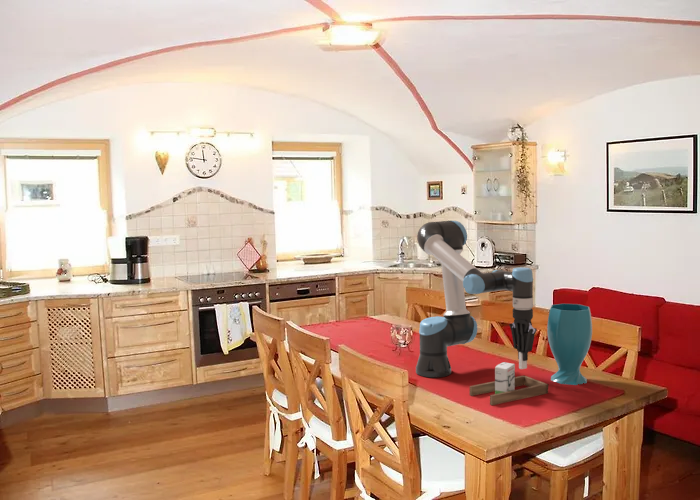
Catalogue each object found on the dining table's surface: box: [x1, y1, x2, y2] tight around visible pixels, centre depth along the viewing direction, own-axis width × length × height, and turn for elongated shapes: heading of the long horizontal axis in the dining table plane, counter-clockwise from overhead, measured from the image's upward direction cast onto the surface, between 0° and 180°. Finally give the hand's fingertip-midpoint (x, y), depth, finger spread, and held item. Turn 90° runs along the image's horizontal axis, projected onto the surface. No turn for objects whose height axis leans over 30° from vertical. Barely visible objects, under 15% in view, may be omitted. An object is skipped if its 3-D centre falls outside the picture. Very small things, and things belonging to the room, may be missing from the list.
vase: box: [546, 303, 593, 386], centre depth 269 cm, size 17×17×30 cm
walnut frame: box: [469, 375, 549, 406], centre depth 254 cm, size 13×27×4 cm, turn 117°
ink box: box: [494, 361, 516, 394], centre depth 253 cm, size 9×5×12 cm, turn 145°
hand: (522, 368), depth 256 cm, fingers closed
